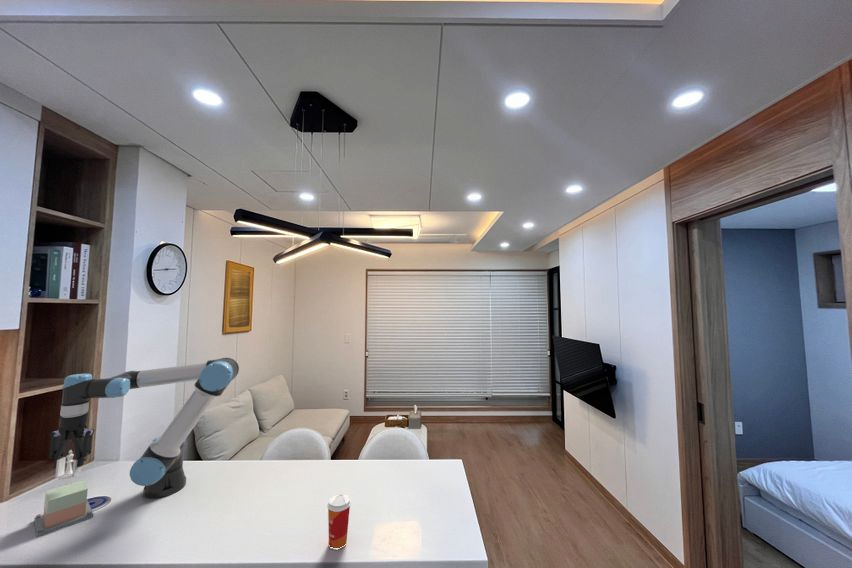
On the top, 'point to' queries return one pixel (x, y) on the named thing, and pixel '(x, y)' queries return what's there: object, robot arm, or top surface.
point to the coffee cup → (338, 520)
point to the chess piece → (68, 467)
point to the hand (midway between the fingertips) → (68, 475)
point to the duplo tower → (63, 508)
